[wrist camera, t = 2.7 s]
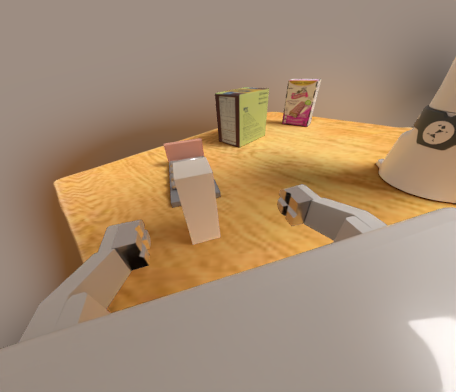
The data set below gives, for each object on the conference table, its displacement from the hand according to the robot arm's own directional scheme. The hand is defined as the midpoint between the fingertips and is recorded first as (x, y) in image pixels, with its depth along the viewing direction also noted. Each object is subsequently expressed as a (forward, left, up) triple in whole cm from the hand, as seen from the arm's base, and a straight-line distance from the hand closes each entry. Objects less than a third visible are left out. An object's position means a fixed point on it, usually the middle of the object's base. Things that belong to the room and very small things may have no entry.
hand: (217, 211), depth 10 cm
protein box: (-21, -52, -15) cm, 59 cm away
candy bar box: (-49, -59, -15) cm, 79 cm away
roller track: (+1, -30, -15) cm, 34 cm away
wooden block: (+1, -12, -15) cm, 19 cm away
